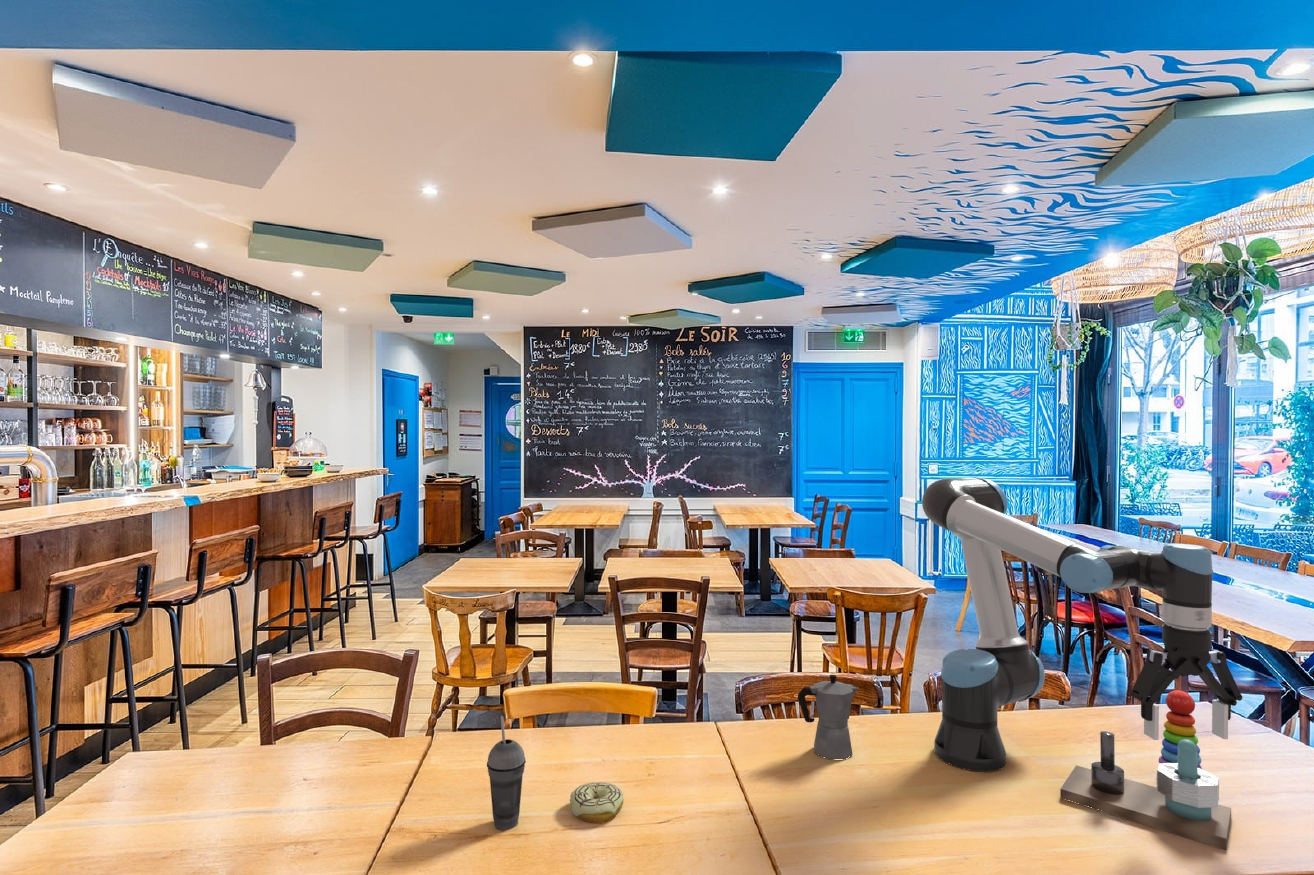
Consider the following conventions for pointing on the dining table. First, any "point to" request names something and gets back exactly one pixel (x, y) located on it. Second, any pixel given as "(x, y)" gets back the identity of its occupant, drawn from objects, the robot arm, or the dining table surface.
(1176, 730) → the stacking toy
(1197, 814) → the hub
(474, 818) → the dining table surface
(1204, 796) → the steel ring
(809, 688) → the coffeepot
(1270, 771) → the dining table surface
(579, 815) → the decorated donut
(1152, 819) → the walnut board
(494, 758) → the beverage cup
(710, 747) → the dining table surface
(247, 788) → the dining table surface
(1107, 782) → the stand rod
